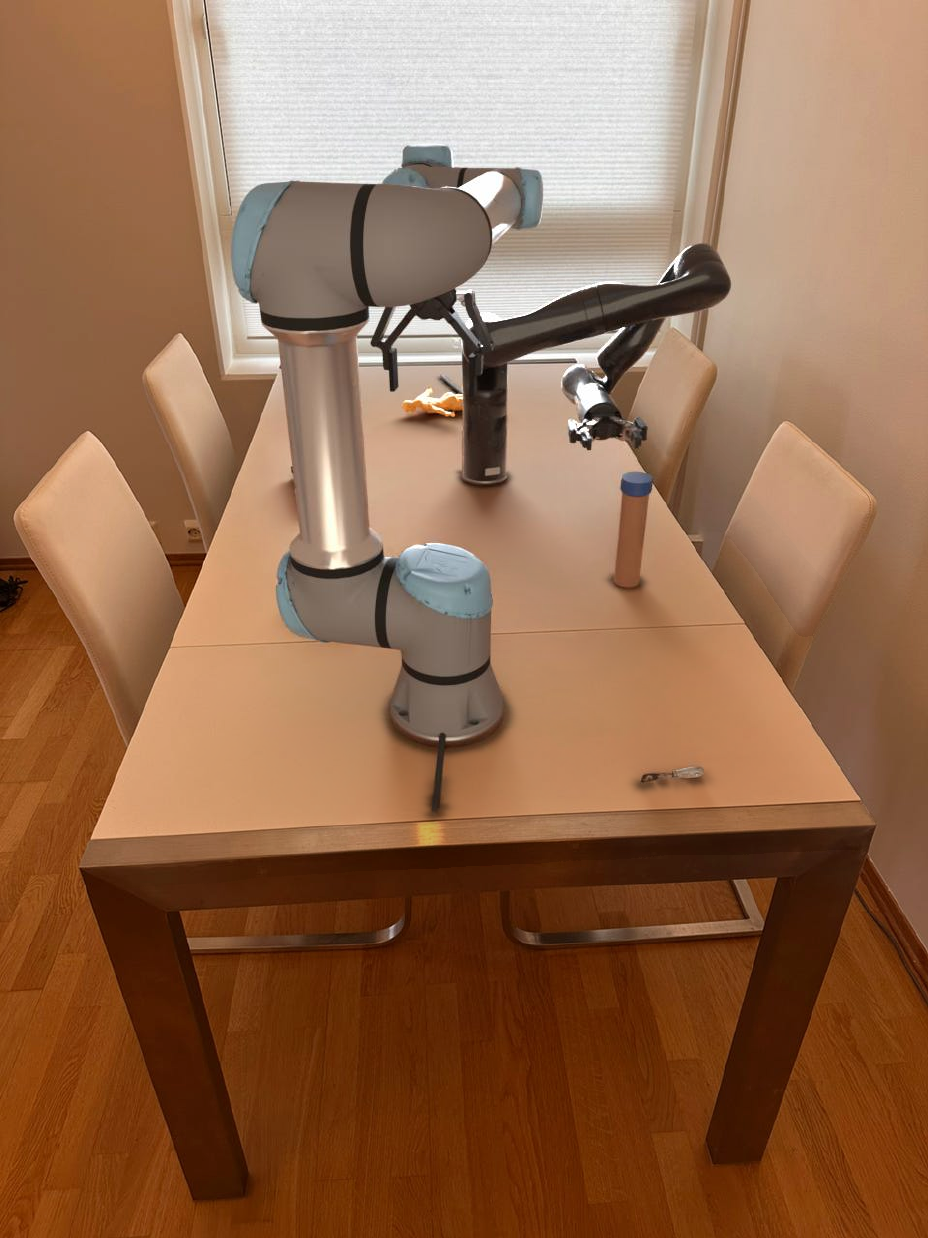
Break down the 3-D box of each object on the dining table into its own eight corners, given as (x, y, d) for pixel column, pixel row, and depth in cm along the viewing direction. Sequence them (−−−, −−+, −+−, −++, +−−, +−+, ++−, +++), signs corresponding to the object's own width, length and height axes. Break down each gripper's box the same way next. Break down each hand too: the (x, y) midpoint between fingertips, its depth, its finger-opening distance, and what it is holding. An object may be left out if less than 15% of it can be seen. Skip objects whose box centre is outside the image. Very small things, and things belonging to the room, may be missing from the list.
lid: (658, 492, 142) (659, 479, 141) (634, 499, 140) (635, 486, 138) (637, 481, 145) (638, 468, 144) (613, 488, 143) (615, 475, 142)
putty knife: (703, 777, 109) (705, 767, 109) (642, 788, 108) (644, 777, 107) (700, 772, 110) (702, 762, 109) (639, 782, 109) (640, 771, 108)
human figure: (395, 413, 223) (394, 398, 221) (438, 390, 237) (438, 375, 235) (462, 429, 215) (462, 413, 213) (502, 404, 229) (503, 388, 227)
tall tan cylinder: (644, 583, 151) (656, 481, 141) (625, 590, 149) (635, 487, 139) (627, 572, 154) (638, 472, 144) (608, 579, 152) (617, 478, 142)
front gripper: (513, 255, 139) (510, 389, 150) (360, 249, 144) (368, 380, 155) (505, 264, 133) (502, 403, 144) (345, 258, 137) (355, 393, 149)
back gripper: (562, 396, 171) (574, 425, 158) (636, 393, 172) (654, 422, 158) (561, 434, 175) (573, 465, 162) (633, 431, 176) (651, 462, 162)
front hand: (433, 391), depth 149 cm, fingers open, 13 cm apart
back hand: (613, 444), depth 160 cm, fingers open, 8 cm apart
